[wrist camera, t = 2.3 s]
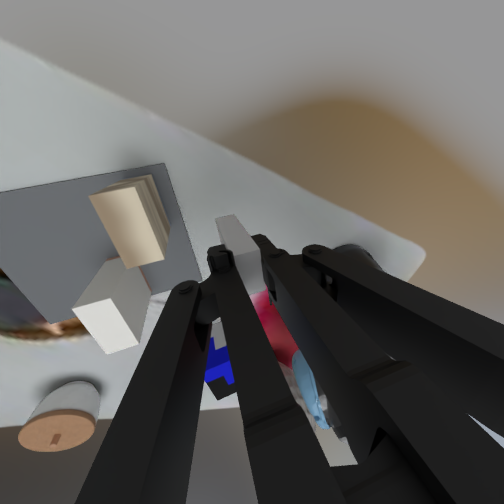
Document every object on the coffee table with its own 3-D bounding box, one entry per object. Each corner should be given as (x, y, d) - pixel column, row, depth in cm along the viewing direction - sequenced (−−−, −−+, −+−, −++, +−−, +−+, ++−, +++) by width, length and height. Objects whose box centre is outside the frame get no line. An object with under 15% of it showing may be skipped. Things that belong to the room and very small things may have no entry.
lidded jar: (47, 372, 39) (12, 429, 31) (112, 373, 44) (95, 424, 36) (41, 408, 43) (8, 468, 34) (102, 405, 47) (85, 459, 39)
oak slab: (152, 173, 30) (134, 186, 19) (170, 225, 34) (164, 259, 23) (122, 179, 29) (88, 195, 19) (145, 231, 33) (126, 268, 22)
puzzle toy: (197, 330, 45) (199, 373, 37) (240, 313, 47) (252, 350, 38) (212, 357, 50) (217, 400, 42) (250, 341, 52) (263, 379, 43)
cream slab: (133, 252, 34) (110, 298, 23) (151, 290, 38) (139, 344, 27) (107, 258, 33) (71, 308, 23) (128, 296, 37) (106, 354, 27)
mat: (164, 163, 30) (164, 163, 30) (202, 279, 40) (202, 280, 40) (-54, 202, 25) (-57, 203, 25) (51, 322, 35) (50, 324, 35)
